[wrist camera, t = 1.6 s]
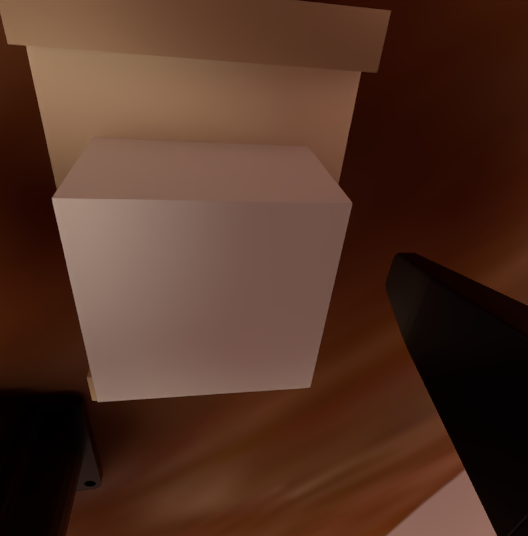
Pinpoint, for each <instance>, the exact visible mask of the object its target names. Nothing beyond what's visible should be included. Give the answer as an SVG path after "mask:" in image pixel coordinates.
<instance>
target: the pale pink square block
mask: <svg viewBox="0 0 528 536" xmlns="http://www.w3.org/2000/svg"><path fill="white" fill-rule="evenodd" d="M52 202H53V206H54V211H55V215H56V220H57V224H58V229H59V233H60V238H61V242H62V246H63V251H64V255H65V260H66V264H67V269H68V273H69V278H70V282H71V286H72V291H73V295H74V300H75V304H76V309H77V313H78V318H79V322H80V326H81V331H82V335H83V340H84V344H85V349H86V353H87V357H88V362H89V366H90V371H91V375H92V380H93V384H94V389H95V393H96V397H97V402H108V401H122V400H137V399H151V398H166V397H181V396H195V395H210V394H224V393H239V392H254V391H268V390H283V389H297V388H310V386H311V382H312V377H313V373H314V369H315V364H316V360H317V356H318V351H319V347H320V342H321V338H322V334H323V329H324V325H325V321H326V316H327V312H328V308H329V303H330V299H331V295H332V290H333V286H334V282H335V277H336V273H337V269H338V264H339V260H340V256H341V251H342V247H343V242H344V238H345V234H346V229H347V225H348V221H349V216H350V212H351V208H352V202H351V200H350V199H349V198H348V197H347V195H346V194H345V193H344V192H343V190H342V189H341V188H340V186H339V185H338V184H337V183H336V181H335V180H334V179H333V177H332V176H331V175H330V174H329V172H328V171H327V170H326V168H325V167H324V166H323V165H322V163H321V162H320V161H319V160H318V158H317V157H316V156H315V154H314V153H313V152H312V151H311V149H310V148H309V147H308V146H285V145H261V144H238V143H214V142H190V141H166V140H143V139H119V138H95V137H93V138H92V139H91V141H90V142H89V144H88V145H87V147H86V148H85V150H84V151H83V153H82V154H81V155H80V157H79V158H78V160H77V161H76V163H75V164H74V166H73V167H72V169H71V170H70V172H69V173H68V175H67V176H66V178H65V179H64V181H63V182H62V184H61V185H60V187H59V188H58V189H57V191H56V192H55V194H54V195H53V197H52Z"/></svg>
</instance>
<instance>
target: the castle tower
mask: <svg viewBox="0 0 528 536" xmlns="http://www.w3.org/2000/svg"><path fill="white" fill-rule="evenodd" d="M0 13H1V18H2V22H3V26H4V30H5V34H6V39H7V43H8V44H13V45H26V49H27V53H28V58H29V63H30V67H31V72H32V77H33V81H34V86H35V91H36V95H37V100H38V105H39V109H40V114H41V119H42V123H43V128H44V132H45V137H46V142H47V146H48V151H49V156H50V160H51V165H52V170H53V174H54V179H55V184H56V188H57V189H58V188H59V187H60V185H61V184H62V182H63V181H64V179H65V178H66V176H67V175H68V173H69V172H70V170H71V169H72V167H73V166H74V164H75V163H76V161H77V160H78V158H79V157H80V155H81V154H82V153H83V151H84V150H85V148H86V147H87V145H88V144H89V142H90V141H91V139H92V138H93V137H95V138H119V139H143V140H166V141H190V142H214V143H238V144H261V145H285V146H308V147H309V148H310V149H311V151H312V152H313V153H314V154H315V156H316V157H317V158H318V160H319V161H320V162H321V163H322V165H323V166H324V167H325V168H326V170H327V171H328V172H329V174H330V175H331V176H332V177H333V179H334V180H335V181H336V183H337V184H339V179H340V174H341V169H342V164H343V159H344V154H345V149H346V144H347V140H348V135H349V130H350V125H351V120H352V115H353V110H354V105H355V100H356V95H357V90H358V85H359V81H360V76H361V72H371V73H377V72H378V67H379V63H380V58H381V54H382V49H383V45H384V40H385V36H386V31H387V27H388V22H389V18H390V14H391V10H382V9H372V8H363V7H354V6H345V5H335V4H326V3H317V2H308V1H299V0H0ZM87 381H88V385H89V389H90V393H91V398H92V401H97V397H96V393H95V389H94V384H93V380H92V375H91V371H90V367H89V371H88V374H87Z"/></svg>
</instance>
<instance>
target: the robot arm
mask: <svg viewBox="0 0 528 536" xmlns="http://www.w3.org/2000/svg"><path fill="white" fill-rule="evenodd" d="M386 291H387V294H388V297H389V300H390V303H391V306H392V308H393V311H394V314H395V317H396V320H397V323H398V326H399V328H400V331H401V334H402V337H403V339H404V342H405V344H406V347H407V349H408V351H409V353H410V355H411V357H412V360H413V362H414V364H415V366H416V368H417V370H418V372H419V374H420V376H421V378H422V380H423V382H424V384H425V387H426V389H427V391H428V393H429V395H430V397H431V399H432V401H433V403H434V405H435V407H436V409H437V412H438V414H439V416H440V418H441V420H442V422H443V424H444V426H445V428H446V430H447V432H448V434H449V437H450V439H451V441H452V443H453V445H454V447H455V449H456V451H457V453H458V455H459V457H460V459H461V461H462V464H463V466H464V468H465V470H466V472H467V474H468V476H469V478H470V480H471V482H472V484H473V486H474V488H475V491H476V493H477V495H478V497H479V499H480V501H481V503H482V505H483V507H484V509H485V511H486V513H487V516H488V518H489V520H490V522H491V524H492V526H493V528H494V530H495V532H496V534H497V536H528V306H527V305H525V304H523V303H521V302H519V301H517V300H514V299H512V298H510V297H508V296H506V295H504V294H502V293H499V292H497V291H495V290H493V289H491V288H489V287H487V286H484V285H482V284H480V283H478V282H476V281H474V280H472V279H469V278H467V277H465V276H463V275H461V274H459V273H457V272H454V271H452V270H450V269H448V268H446V267H444V266H442V265H439V264H437V263H435V262H433V261H431V260H429V259H427V258H424V257H422V256H420V255H418V254H416V253H398V254H396V255H395V257H394V259H393V261H392V265H391V268H390V271H389V274H388V277H387V280H386ZM102 476H103V474H102V470H101V466H100V462H99V458H98V454H97V450H96V446H95V442H94V438H93V434H92V430H91V426H90V423H89V419H88V415H87V411H86V407H85V403H84V401H83V399H82V398H81V397H79V396H76V395H55V396H40V397H24V398H9V399H0V536H66V532H67V528H68V523H69V519H70V514H71V510H72V506H73V501H74V497H75V493H76V491H79V490H88V489H95V488H97V487H99V486H100V485H101V481H102Z"/></svg>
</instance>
